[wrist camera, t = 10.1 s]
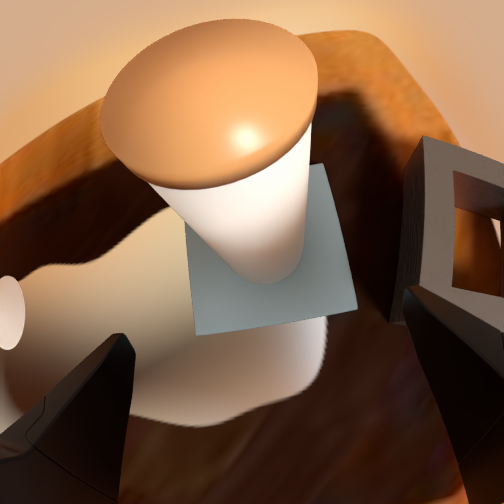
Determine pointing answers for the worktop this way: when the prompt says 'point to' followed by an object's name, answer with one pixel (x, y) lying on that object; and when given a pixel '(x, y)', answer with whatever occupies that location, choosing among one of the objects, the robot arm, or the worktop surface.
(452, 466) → the worktop surface
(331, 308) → the pad
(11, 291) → the champagne flute
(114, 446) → the robot arm
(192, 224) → the plug
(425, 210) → the frame
